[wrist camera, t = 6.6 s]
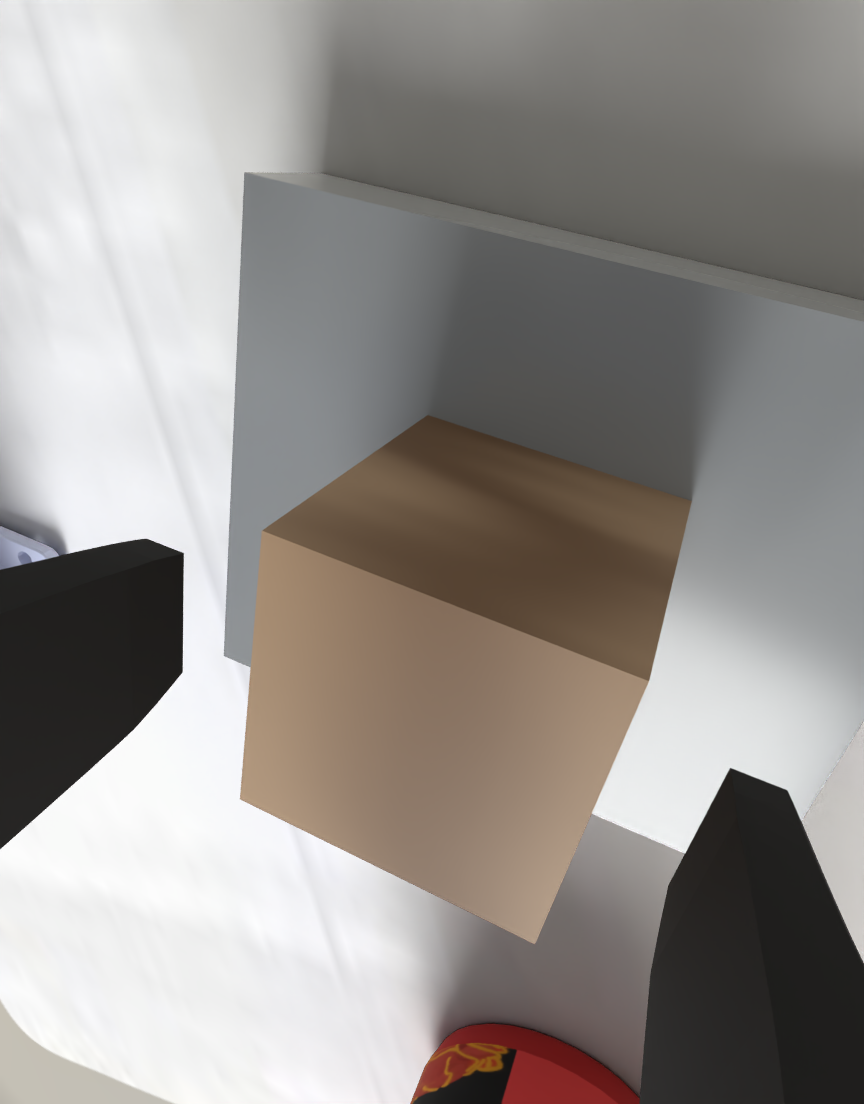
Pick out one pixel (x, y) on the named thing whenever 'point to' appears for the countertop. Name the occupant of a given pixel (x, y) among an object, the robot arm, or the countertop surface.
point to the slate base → (584, 445)
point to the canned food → (515, 1071)
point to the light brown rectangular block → (456, 661)
